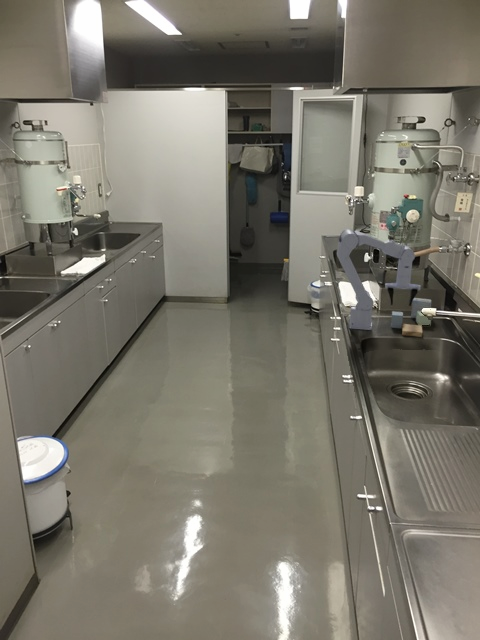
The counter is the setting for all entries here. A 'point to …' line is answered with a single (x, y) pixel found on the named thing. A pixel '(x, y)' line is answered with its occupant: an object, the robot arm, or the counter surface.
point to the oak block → (412, 330)
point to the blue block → (396, 319)
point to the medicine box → (419, 305)
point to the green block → (422, 319)
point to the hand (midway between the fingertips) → (400, 304)
